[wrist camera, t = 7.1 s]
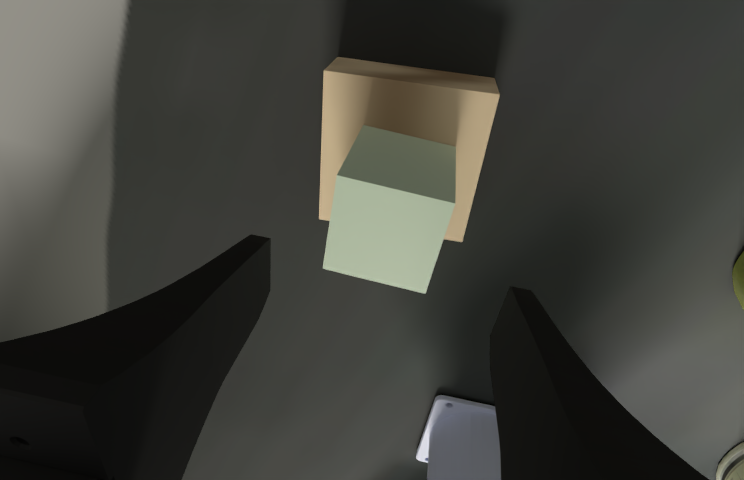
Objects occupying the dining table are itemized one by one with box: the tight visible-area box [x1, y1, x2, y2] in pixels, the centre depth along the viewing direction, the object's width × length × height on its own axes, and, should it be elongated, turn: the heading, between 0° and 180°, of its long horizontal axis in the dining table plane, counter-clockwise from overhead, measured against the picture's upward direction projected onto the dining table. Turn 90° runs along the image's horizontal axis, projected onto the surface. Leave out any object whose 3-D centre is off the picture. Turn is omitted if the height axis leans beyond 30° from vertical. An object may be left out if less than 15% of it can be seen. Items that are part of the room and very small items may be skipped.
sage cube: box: [323, 125, 456, 294], centre depth 18 cm, size 4×4×5 cm
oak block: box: [319, 57, 500, 242], centre depth 21 cm, size 7×7×3 cm
